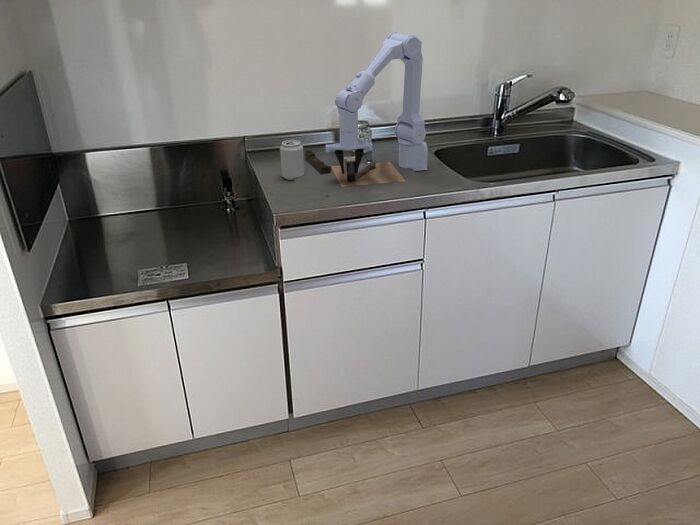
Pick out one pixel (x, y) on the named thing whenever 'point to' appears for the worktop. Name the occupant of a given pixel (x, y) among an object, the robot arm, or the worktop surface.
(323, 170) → the hand tool
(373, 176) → the board
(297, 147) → the can
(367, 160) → the lever
